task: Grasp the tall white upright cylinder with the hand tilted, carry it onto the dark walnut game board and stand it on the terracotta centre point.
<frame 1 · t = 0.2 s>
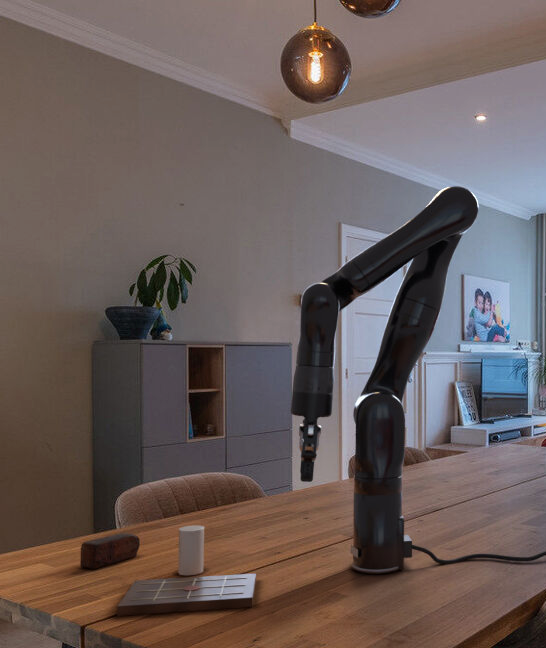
hand: (306, 477, 135), 17 cm above the table, tool pointing down, fingers open, 8 cm apart
brick: (110, 562, 140), on the table
board: (191, 597, 119), on the table
white upright cylinder: (190, 572, 134), on the table
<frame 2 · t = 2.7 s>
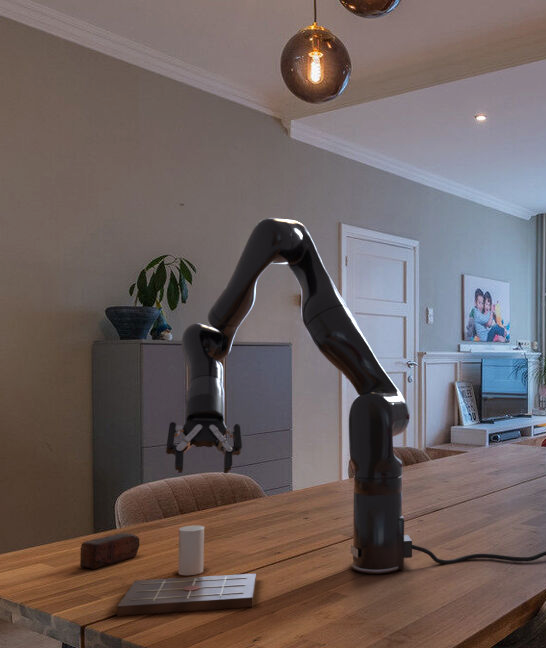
hand: (203, 471, 142), 17 cm above the table, tool tilted 40°, fingers open, 8 cm apart
nothing on the table moved.
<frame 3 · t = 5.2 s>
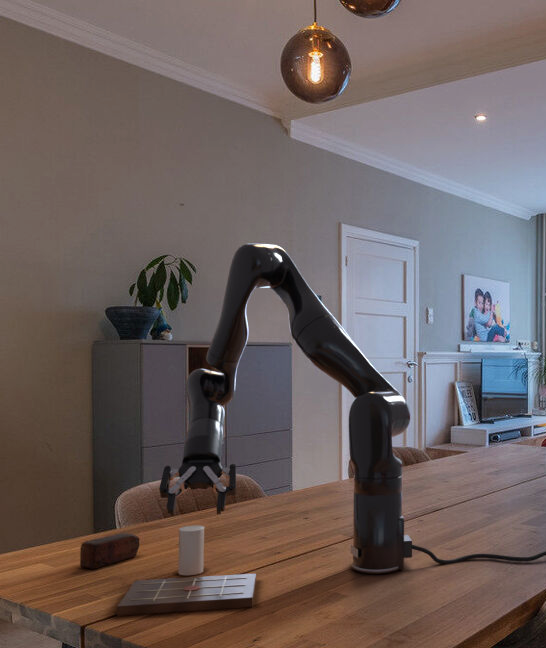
hand: (195, 512, 139), 10 cm above the table, tool tilted 45°, fingers open, 8 cm apart
nothing on the table moved.
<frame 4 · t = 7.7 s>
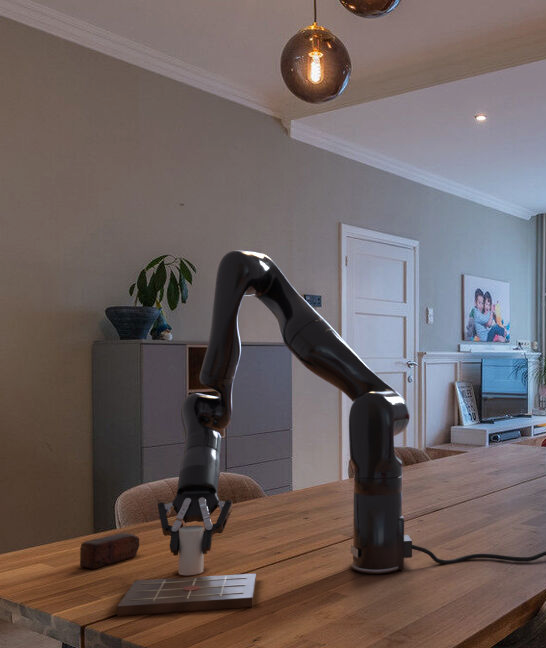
hand: (190, 552, 132), 4 cm above the table, tool tilted 45°, fingers closed on white upright cylinder, 4 cm apart
white upright cylinder: (190, 571, 134), on the table, touching gripper
everything else where it was.
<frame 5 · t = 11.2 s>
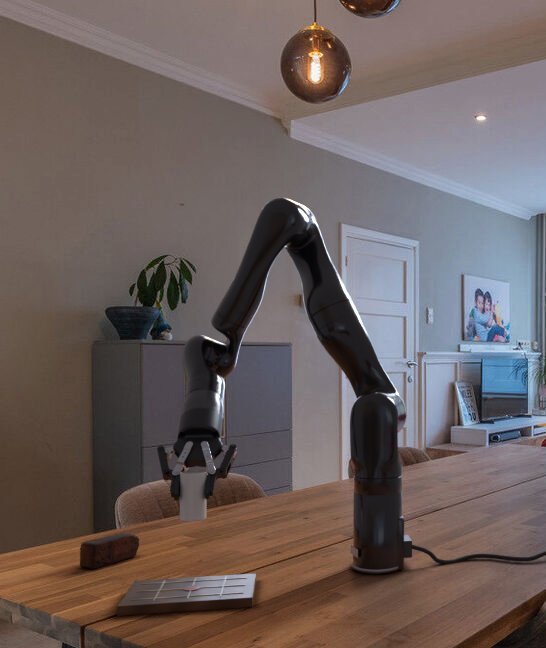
hand: (191, 496, 123), 16 cm above the table, tool tilted 45°, fingers closed on white upright cylinder, 4 cm apart
white upright cylinder: (193, 518, 125), point 12 cm above the table, touching gripper
everything else where it was.
when the fingers open (6 cm above the table, at t = 15.1 s): white upright cylinder stays where it is, resting on board.
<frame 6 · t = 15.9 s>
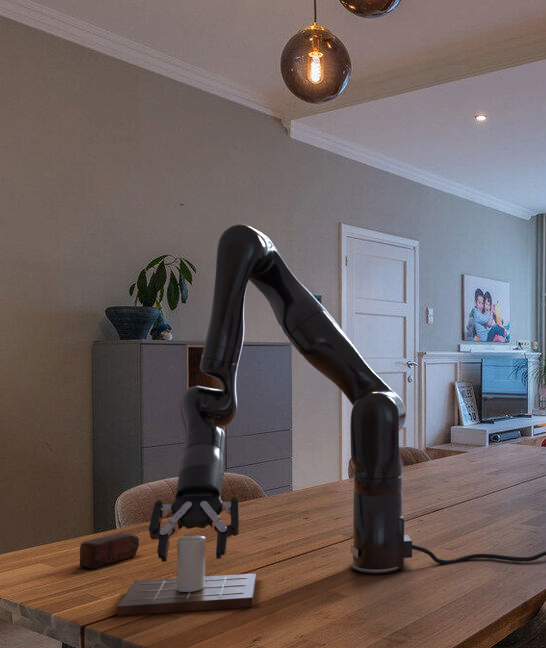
hand: (191, 557, 118), 7 cm above the table, tool tilted 45°, fingers open, 8 cm apart
white upright cylinder: (190, 587, 120), point 2 cm above the table, touching board
everything else where it was.
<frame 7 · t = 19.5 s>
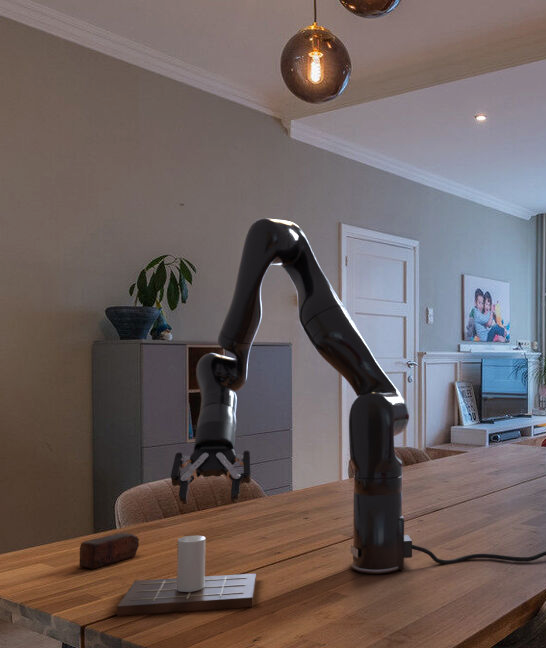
hand: (209, 500, 133), 13 cm above the table, tool tilted 45°, fingers open, 8 cm apart
nothing on the table moved.
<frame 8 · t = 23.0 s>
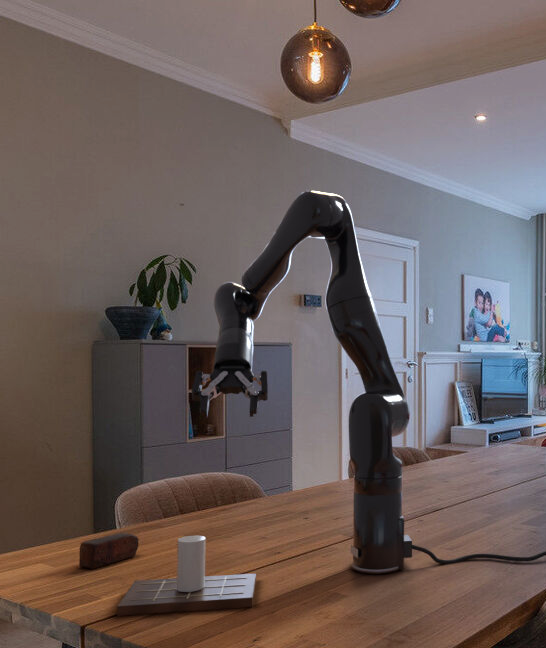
hand: (228, 414, 139), 29 cm above the table, tool tilted 45°, fingers open, 8 cm apart
nothing on the table moved.
at the end: white upright cylinder 0.1 cm off-centre on the board, point 1.6 cm above the board's base; white upright cylinder tilted 0°; the gripper is holding nothing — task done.
